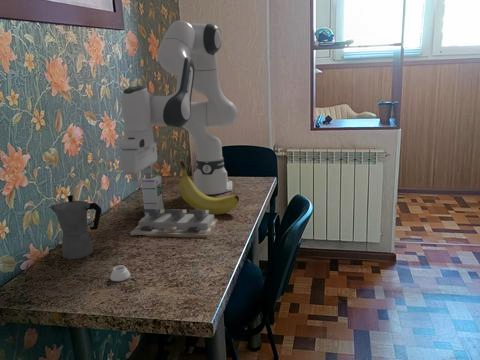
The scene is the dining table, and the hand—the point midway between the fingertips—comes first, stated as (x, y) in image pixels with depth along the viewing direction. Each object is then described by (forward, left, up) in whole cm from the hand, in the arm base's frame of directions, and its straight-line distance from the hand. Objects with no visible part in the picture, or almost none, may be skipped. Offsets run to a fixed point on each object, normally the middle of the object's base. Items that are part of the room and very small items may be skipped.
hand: (143, 182), depth 140 cm
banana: (-22, +16, -18) cm, 32 cm away
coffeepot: (+17, -14, -18) cm, 29 cm away
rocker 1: (-7, 0, -14) cm, 16 cm away
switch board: (-5, +8, -18) cm, 20 cm away
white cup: (+31, +5, -18) cm, 37 cm away
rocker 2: (-7, +8, -14) cm, 17 cm away
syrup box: (-20, -5, -18) cm, 27 cm away
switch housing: (-7, +8, -18) cm, 20 cm away
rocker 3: (-7, +16, -14) cm, 22 cm away
